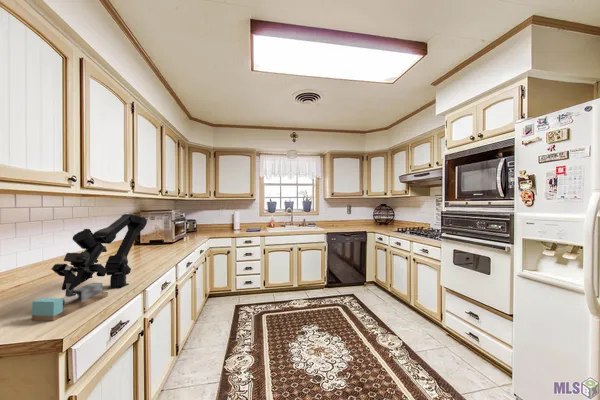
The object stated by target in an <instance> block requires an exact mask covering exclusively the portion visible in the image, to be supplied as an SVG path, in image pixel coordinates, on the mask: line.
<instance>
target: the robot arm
mask: <svg viewBox="0 0 600 400" xmlns="http://www.w3.org/2000/svg"><path fill="white" fill-rule="evenodd" d="M147 223H148V220H147V218H146V217H144V216H140V215H139V216H138V215H135V214H132V213H124V214H121V216H120V217H119V218H118V219H117V220H115V221H113V222H112V223H111V224H110V225H109V226H106V227H105V228H100V229H98V230H96V231H94V232H92V231H91V229H90V228H84V229H83V230H81V231H78V232H76V233H75V234H74V235H73V236H72V241H73V242H74V243H75V244H77V246H79V247H80V248H81V249H82V250H83V251H81V252H66V254H65V256H64V258H63V262H68V263H69V264H70V265H71V266H70V265H68V264H67V263H56V264H54V265H53V266H52V268H51V270H52V271H53V272H54V273H55V274H57V275H58V276H60V277H64V278H63V282H62V285H61V290H62V291H66V283H69V282H72V283H71V285H70V287H69V290H72V289H73V290H74V289H76V287H77V288H78V286H79V285H81V284H83V283H85V282H86V281H88V280H89V279H92V278H93V275H94V274H95V273H96V276H97V277H105V276H110V281H109V283H110V284H109V285H110V286H108V287H107V289H117V290H118V289H119V290H120V289H122V288H124V287H127V286H128V285H130V283H127V275H130V274H131V270H132V268H131V267H130V265H128V264H129V260H128V255H129V254H130V251H131V250H132V247H133V245H134V243H135V241H136V238H137V237H138V234H139V233H140V232H141V231H143V230H144V229H145V228H146V225H147ZM126 226H127V232H126V233H125V236H123V239H122V241H121V242H120V245H119V247H118V249H117V251H116V253H115V254H114V255H109V256H108V258H107V261H106V262H105V265H104V266H103V264H101V263H98V262H99V260H98V259H99V257H100V255H102V253H107V251H108V250H107V246H105V245H110V244H112V243H113V242H114V241H115V239H116V238H117V235H118V234H119V232H121V231H122V230H124V229H125V228H126ZM104 244H105V245H104Z"/></svg>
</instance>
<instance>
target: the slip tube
mask: <svg viewBox="0 0 600 400" xmlns="http://www.w3.org/2000/svg"><path fill="white" fill-rule="evenodd" d="M71 283H72V282H69V283H66V289H65V296H63V297H62V298H63V305H65V304H67V303H70V302H72V301H75V300H77V299H80V298H81V292H76V293H73V290H74V289H72V290H69V287H70V285H71Z"/></svg>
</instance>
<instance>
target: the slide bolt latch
mask: <svg viewBox="0 0 600 400" xmlns="http://www.w3.org/2000/svg"><path fill="white" fill-rule="evenodd" d="M76 292H81V298H80V299H77V300H75V301H72V302H70V303H67V304H65V305H63V312H61V313H59V314H57V315H54V316H42V315H32V314H31V321H38V322H39V321H43V322H53V321H56V320H58V319H61V318H63V317H66V316H67V315H70V314H72V313H74V312H76V311H78V310H80V309H83V308H85V307H87V306H89V305H91V304H93V303H96V302H98V301H100V300H102V299H104V298H107V297H108V296H109V292H108V291H103V282H91V283H89V284H86V285H83V286H80V287H77V288H74V289H73V293H76Z"/></svg>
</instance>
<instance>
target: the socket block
mask: <svg viewBox="0 0 600 400" xmlns="http://www.w3.org/2000/svg"><path fill="white" fill-rule="evenodd" d="M31 306H32V307H31V316H32V315H42V316H54V315H57V314H59V313H61V312H63V297H60V298H59V297H57V298H56V297H55V298H54V297H53V298H52V297H41V298H38V299H35V300H32V303H31Z"/></svg>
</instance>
